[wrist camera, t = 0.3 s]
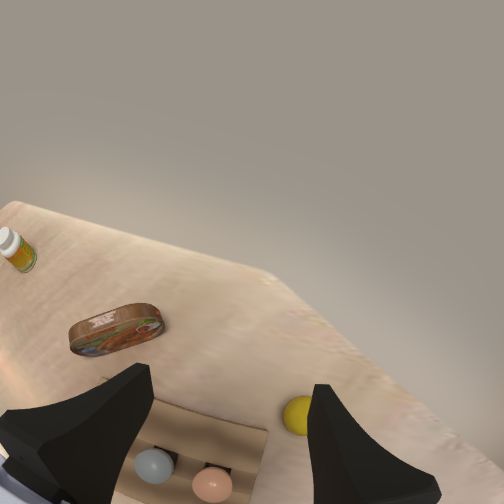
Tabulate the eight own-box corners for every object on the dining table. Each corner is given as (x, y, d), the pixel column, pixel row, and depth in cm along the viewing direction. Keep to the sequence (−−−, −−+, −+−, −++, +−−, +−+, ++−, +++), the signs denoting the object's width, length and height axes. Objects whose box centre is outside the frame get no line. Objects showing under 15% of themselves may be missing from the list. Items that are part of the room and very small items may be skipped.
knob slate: (175, 479, 28) (166, 489, 23) (143, 467, 28) (130, 475, 23) (183, 452, 30) (174, 458, 25) (151, 440, 30) (138, 444, 26)
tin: (86, 360, 38) (59, 348, 31) (82, 342, 40) (56, 327, 32) (171, 333, 42) (157, 316, 34) (165, 314, 43) (150, 294, 36)
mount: (239, 521, 27) (239, 533, 23) (86, 466, 29) (71, 470, 25) (266, 429, 35) (269, 432, 31) (110, 379, 37) (96, 375, 33)
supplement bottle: (40, 261, 46) (14, 234, 38) (22, 278, 44) (-5, 254, 36) (32, 245, 48) (8, 218, 39) (15, 261, 46) (-10, 236, 37)
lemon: (272, 410, 37) (279, 411, 30) (304, 389, 38) (319, 385, 31) (292, 440, 34) (304, 447, 27) (324, 419, 36) (343, 420, 29)
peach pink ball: (228, 494, 27) (226, 506, 22) (194, 485, 27) (188, 496, 23) (236, 466, 29) (236, 475, 25) (202, 458, 30) (197, 465, 25)
